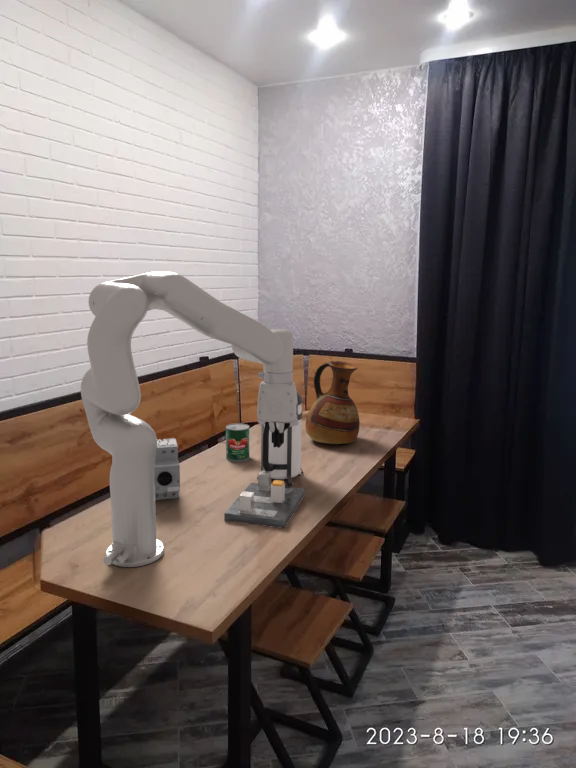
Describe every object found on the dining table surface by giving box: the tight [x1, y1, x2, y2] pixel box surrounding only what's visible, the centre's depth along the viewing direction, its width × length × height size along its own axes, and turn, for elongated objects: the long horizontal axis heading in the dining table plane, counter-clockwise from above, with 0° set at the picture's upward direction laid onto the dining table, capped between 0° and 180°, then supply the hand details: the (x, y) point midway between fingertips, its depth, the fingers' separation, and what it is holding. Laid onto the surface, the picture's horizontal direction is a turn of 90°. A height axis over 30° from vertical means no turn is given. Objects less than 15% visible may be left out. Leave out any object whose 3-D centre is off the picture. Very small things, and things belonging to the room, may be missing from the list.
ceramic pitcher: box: [304, 360, 361, 445], centre depth 214 cm, size 20×20×30 cm
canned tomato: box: [225, 422, 250, 463], centre depth 196 cm, size 8×8×11 cm
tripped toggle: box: [271, 479, 286, 503], centre depth 156 cm, size 3×3×5 cm
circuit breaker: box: [154, 437, 181, 501], centre depth 162 cm, size 8×14×15 cm, turn 15°
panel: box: [223, 470, 306, 529], centre depth 157 cm, size 22×16×7 cm
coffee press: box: [257, 391, 304, 487], centre depth 175 cm, size 17×16×30 cm
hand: (277, 445), depth 154 cm, fingers closed
